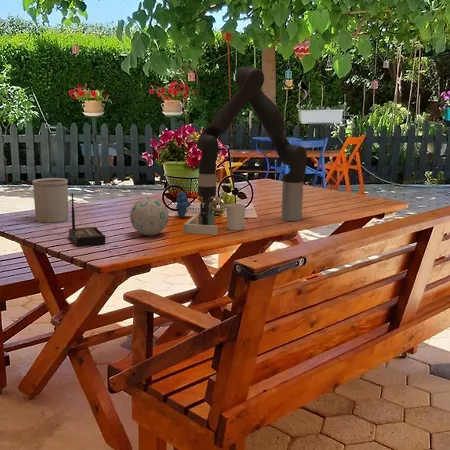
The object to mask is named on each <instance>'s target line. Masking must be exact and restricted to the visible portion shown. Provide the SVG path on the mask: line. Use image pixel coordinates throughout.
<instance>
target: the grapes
mask: <svg viewBox="0 0 450 450" xmlns="http://www.w3.org/2000/svg"><path fill="white" fill-rule="evenodd" d="M188 199H189V198H188V196H187V194H186V192H185V191H180V192H179V193H177V198H176V200H175V201H176V202H177V203H176V206H175V208H176V209H177V211H176V213H177V215H178V216H179V217H180V218H184V217H185V216H186V214H187V213H188V210H187V209H188V208H189V207H190V206H191V204H192V203H191V202H190V201H189V200H188Z"/></svg>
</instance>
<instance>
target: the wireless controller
mask: <svg viewBox="0 0 450 450" xmlns="http://www.w3.org/2000/svg"><path fill="white" fill-rule="evenodd" d="M74 204H75V203H74V193H73V192H72V193H71V225H72V226H71V228H68V237H69V239H70V240H71V242H72V243H73V244H74V245H75V246H76V248H81V247H94V246H95V247H96V246H104V244H106V234H104V233H103V232H101V231H100V230H99V229H98V228H97V226H88V227H87V226H86V227H76V217H75V216H76V214H75V205H74Z"/></svg>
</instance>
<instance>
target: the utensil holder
mask: <svg viewBox="0 0 450 450" xmlns="http://www.w3.org/2000/svg"><path fill="white" fill-rule="evenodd" d="M31 183H32V186H33V187H32V188H33V189H32V190H33V200H34V202H33V203H34V209H35V210H34V212H35V221H36V222H38V223H44V224H46V223H49V224H52V223H61V222H66V221H68V220H69V196H68V195H69V194H68V191H69V190H68V183H69V181H68V178H62V177H61V178H60V177H49V178H38V179H34V180H32V181H31Z"/></svg>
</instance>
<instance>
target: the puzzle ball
mask: <svg viewBox="0 0 450 450" xmlns="http://www.w3.org/2000/svg"><path fill="white" fill-rule="evenodd" d="M134 203H135V204H134V205H133V206H132V208H131V210H130V213H129V219H130V223H131V225H132V227H133V229H134V230H136V231H137V232H138V233H140V234H141V235H144V236H146V237H147V236H156V235H158V234H159V233H160V232H161V233H162V231H163V230H165V228H166V227H167V225H168V223H169V218H170V215H169V211H168V208H167V206H166V205H165V204H164V202H162V200H160V199H158V198H155V197H149V196H147V197H144V198H143V197H142V198H141V199H139V200H138V201H136V202H134Z"/></svg>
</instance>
